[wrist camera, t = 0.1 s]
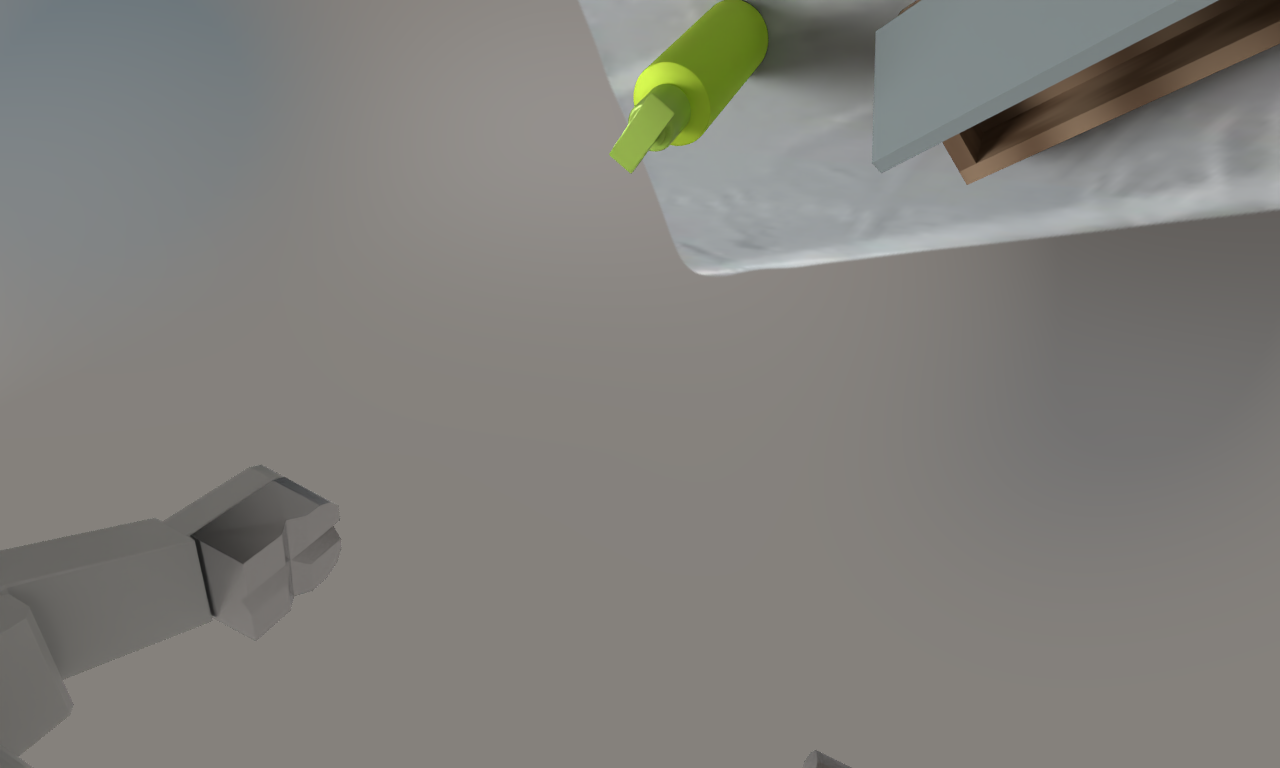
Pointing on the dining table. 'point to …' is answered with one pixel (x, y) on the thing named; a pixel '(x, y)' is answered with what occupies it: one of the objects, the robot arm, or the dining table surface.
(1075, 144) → the dining table surface
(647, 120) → the soap dispenser
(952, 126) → the lid
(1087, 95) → the wooden box
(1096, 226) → the dining table surface
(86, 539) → the robot arm
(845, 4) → the dining table surface
